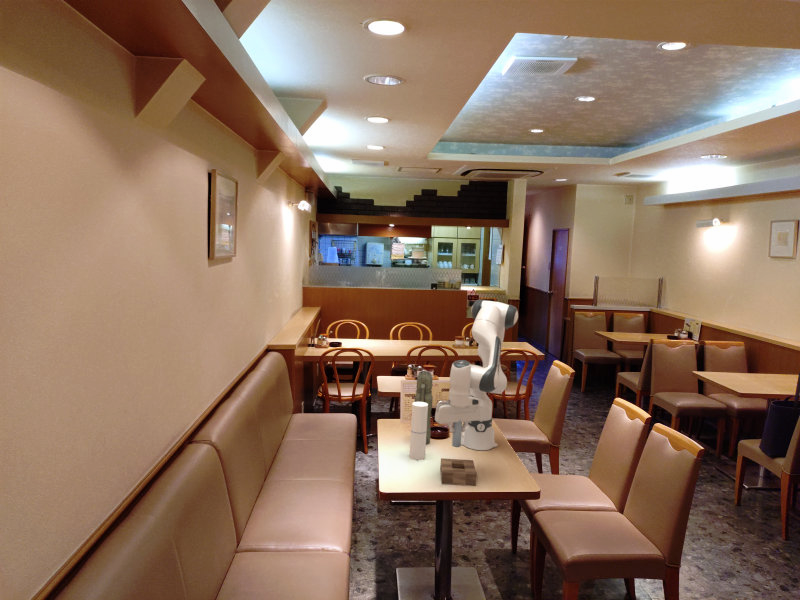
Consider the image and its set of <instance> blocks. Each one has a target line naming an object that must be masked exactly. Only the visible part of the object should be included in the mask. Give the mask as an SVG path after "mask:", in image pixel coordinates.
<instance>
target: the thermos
mask: <svg viewBox="0 0 800 600" xmlns="http://www.w3.org/2000/svg"><path fill="white" fill-rule="evenodd" d="M432 389H433V375H432V372H430V371H428V370H427V371H426V370H424V371H423V370H422V371H419V372H418V374H417V377H416V390H415V391H416V392H415V394H414V402H425V403H427V404H428V415H427V432H426V446H427V445H429V444H430V443H431V434H432V430H431V419H432V417H431V416H432V408H433V398H434V397H433V392H432Z"/></svg>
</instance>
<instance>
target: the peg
mask: <svg viewBox="0 0 800 600" xmlns="http://www.w3.org/2000/svg"><path fill="white" fill-rule="evenodd" d="M460 420H461V419H460ZM462 425H463V422H461V421H459V422H454V423H453V425H452V427H453V428H454V429H455V430H454V432H453V433H452V442H451V445H452V447H453V448H461V446H462V445H461V434H462V433H463V432H462Z"/></svg>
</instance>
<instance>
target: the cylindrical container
mask: <svg viewBox="0 0 800 600" xmlns="http://www.w3.org/2000/svg"><path fill="white" fill-rule="evenodd" d="M427 415H428V404H427V403H425V402H415V401H414V402H412V403H411V420H410V421H411V423H410V440H409V441H410V442H409V458H410V459H411V460H413V461H414V460H415V461H422V460H424V459H426V446H427V445H426V432H427Z"/></svg>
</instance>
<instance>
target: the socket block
mask: <svg viewBox="0 0 800 600" xmlns="http://www.w3.org/2000/svg"><path fill="white" fill-rule="evenodd" d="M439 467H440V468H439V469H440V480H441V484H442V485H457V486H469V487H470V486H473V487H476V486H477V478H478V477H477V475H478V474H477V471H476V465H475V463H474V460H472V459H459V458H458V459H456V458H440V466H439Z"/></svg>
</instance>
